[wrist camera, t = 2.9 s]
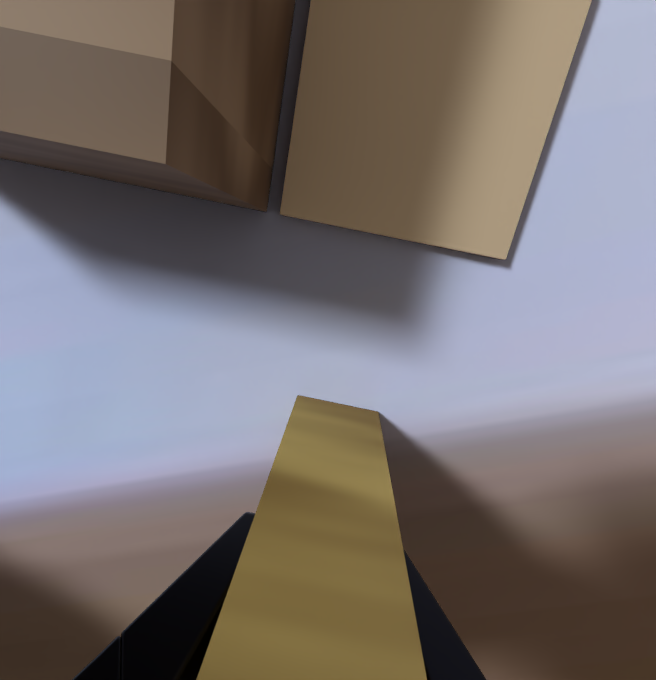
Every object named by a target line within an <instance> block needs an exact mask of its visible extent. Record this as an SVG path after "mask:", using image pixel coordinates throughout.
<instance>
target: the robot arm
mask: <svg viewBox="0 0 656 680" xmlns="http://www.w3.org/2000/svg"><path fill="white" fill-rule="evenodd" d="M254 516H255V513H250V512H246V513H244V514H243V515H242V516H241V517H240V518H239V519H238V520H237V521H236V522H235V523H234V524H233V525H232V526H231V527H230V528H229V529H228V530H227V531H226V532H225V533H224V534H223V535H222V536H221V537H220V538H219V539H218V540H217V541H215V542H214V543H213V544H212V545H211V546H210V547H209V548H208V549H207V550H206V551H205V552H204V553H203V554H202V555H201V556H200V557H199V558H198V559H197V560H196V561H195V562H194V563H193V564H192V565H191V566H190V567H189V568H188V569H187V570H186V571H185V572H184V573H183V574H182V575H180V576H179V577H178V578H177V579H176V580H175V581H174V582H173V583H172V584H171V585H170V586H169V587H168V588H167V589H166V590H165V591H164V592H163V593H162V594H161V595H160V596H159V597H158V598H157V599H156V600H155V601H154V602H153V603H152V604H151V605H150V606H149V607H148V608H147V609H145V610H144V611H143V612H142V613H141V614H140V615H139V616H138V617H137V618H136V619H135V620H134V621H133V622H132V623H131V624H130V625H129V626H128V627H127V628H126V629H125V630H124V631H123V632H122V634H121V637H120V636H118V637H116V638H115V639H114V640H113V641H112V642H111V643H110V644H109V645H108V646H107V647H106V648H105V649H104V650H103V651H102V652H101V653H100V654H99V655H98V656H97V657H96V658H95V659H94V660H93V661H92V662H90V663H89V664H88V665H87V666H86V667H85V668H84V669H83V670H82V671H81V672H80V673H79V674H78V675H76V676H75V677H74V678H73V679H72V680H196V679H197V676H198V674H199V671H200V668H201V665H202V662H203V660H204V657H205V654H206V651H207V648H208V646H209V643H210V640H211V637H212V634H213V632H214V629H215V626H216V623H217V620H218V617H219V615H220V612H221V609H222V606H223V603H224V601H225V598H226V595H227V592H228V589H229V587H230V584H231V581H232V578H233V575H234V573H235V570H236V567H237V564H238V561H239V558H240V556H241V553H242V550H243V547H244V544H245V542H246V539H247V536H248V533H249V530H250V528H251V525H252V522H253V519H254ZM403 551H404V556H405V562H406V567H407V573H408V578H409V584H410V589H411V595H412V600H413V606H414V611H415V617H416V622H417V628H418V633H419V638H420V644H421V649H422V655H423V660H424V666H425V671H426V677H427V680H486V679H485V677H484V675H483V674H482V672H481V671H480V669H479V667H478V666H477V664H476V663H475V661H474V660H473V658H472V656H471V655H470V653H469V652H468V650H467V648H466V647H465V645H464V644H463V642H462V641H461V639H460V637H459V636H458V634H457V633H456V631H455V629H454V628H453V626H452V625H451V623H450V622H449V620H448V618H447V617H446V615H445V614H444V612H443V610H442V609H441V607H440V606H439V604H438V603H437V601H436V599H435V598H434V596H433V595H432V593H431V591H430V590H429V588H428V587H427V585H426V584H425V582H424V580H423V579H422V577H421V576H420V574H419V572H418V571H417V569H416V568H415V566H414V565H413V563H412V561H411V560H410V558H409V557H408V555H407V553H406V552H405V550H404V549H403Z"/></svg>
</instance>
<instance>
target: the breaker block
mask: <svg viewBox="0 0 656 680" xmlns="http://www.w3.org/2000/svg"><path fill="white" fill-rule="evenodd" d="M295 1H296V0H0V158H2V159H7V160H12V161H17V162H22V163H27V164H32V165H37V166H42V167H47V168H52V169H56V170H61V171H66V172H71V173H76V174H81V175H86V176H91V177H96V178H101V179H106V180H111V181H116V182H121V183H126V184H131V185H135V186H140V187H145V188H150V189H155V190H160V191H165V192H170V193H175V194H180V195H185V196H190V197H195V198H200V199H205V200H210V201H215V202H219V203H224V204H229V205H234V206H239V207H244V208H249V209H254V210H259V211H264V212H267V207H268V200H269V192H270V185H271V178H272V170H273V163H274V156H275V148H276V141H277V134H278V126H279V119H280V112H281V104H282V97H283V89H284V82H285V75H286V67H287V60H288V53H289V45H290V38H291V31H292V23H293V16H294V9H295Z"/></svg>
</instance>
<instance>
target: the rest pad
mask: <svg viewBox="0 0 656 680" xmlns="http://www.w3.org/2000/svg"><path fill="white" fill-rule="evenodd" d="M591 1H592V0H311V3H310V10H309V17H308V24H307V31H306V38H305V44H304V51H303V58H302V65H301V72H300V79H299V85H298V92H297V99H296V106H295V113H294V120H293V127H292V133H291V140H290V147H289V154H288V161H287V168H286V175H285V181H284V188H283V195H282V202H281V209H280V214H281V215H284V216H289V217H294V218H298V219H303V220H308V221H313V222H318V223H323V224H328V225H333V226H338V227H343V228H348V229H353V230H358V231H363V232H368V233H373V234H377V235H382V236H387V237H392V238H397V239H402V240H407V241H412V242H417V243H422V244H427V245H432V246H437V247H442V248H447V249H452V250H457V251H461V252H466V253H471V254H476V255H481V256H486V257H491V258H496V259H504V260H506V257H507V254H508V251H509V248H510V245H511V242H512V239H513V236H514V233H515V230H516V227H517V224H518V221H519V218H520V215H521V212H522V209H523V206H524V203H525V200H526V197H527V194H528V191H529V188H530V185H531V182H532V179H533V176H534V173H535V170H536V167H537V164H538V161H539V158H540V155H541V152H542V149H543V146H544V143H545V140H546V137H547V134H548V131H549V128H550V125H551V122H552V119H553V116H554V113H555V110H556V107H557V104H558V101H559V98H560V95H561V92H562V89H563V86H564V83H565V80H566V77H567V74H568V71H569V68H570V65H571V62H572V59H573V56H574V53H575V49H576V46H577V43H578V40H579V37H580V34H581V31H582V28H583V25H584V22H585V19H586V16H587V13H588V10H589V7H590V4H591Z"/></svg>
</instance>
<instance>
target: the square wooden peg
mask: <svg viewBox="0 0 656 680" xmlns="http://www.w3.org/2000/svg"><path fill="white" fill-rule="evenodd" d="M196 680H427V677H426V671H425V666H424V660H423V655H422V649H421V644H420V638H419V633H418V628H417V622H416V617H415V611H414V606H413V600H412V595H411V589H410V584H409V578H408V573H407V567H406V562H405V556H404V551H403V545H402V540H401V534H400V529H399V523H398V518H397V512H396V507H395V501H394V496H393V490H392V485H391V479H390V474H389V468H388V463H387V457H386V452H385V446H384V441H383V435H382V430H381V424H380V419H379V413H378V412H377V411H372V410H367V409H362V408H357V407H352V406H348V405H343V404H338V403H333V402H328V401H323V400H319V399H314V398H309V397H304V396H299V395H298V396H297V398H296V401H295V404H294V407H293V410H292V412H291V415H290V418H289V421H288V424H287V426H286V429H285V432H284V435H283V438H282V440H281V443H280V446H279V449H278V452H277V455H276V457H275V460H274V463H273V466H272V469H271V471H270V474H269V477H268V480H267V483H266V485H265V488H264V491H263V494H262V497H261V499H260V502H259V505H258V508H257V511H256V514H255V516H254V519H253V522H252V525H251V528H250V530H249V533H248V536H247V539H246V542H245V544H244V547H243V550H242V553H241V556H240V558H239V561H238V564H237V567H236V570H235V573H234V575H233V578H232V581H231V584H230V587H229V589H228V592H227V595H226V598H225V601H224V603H223V606H222V609H221V612H220V615H219V617H218V620H217V623H216V626H215V629H214V632H213V634H212V637H211V640H210V643H209V646H208V648H207V651H206V654H205V657H204V660H203V662H202V665H201V668H200V671H199V674H198V676H197V679H196Z"/></svg>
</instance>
